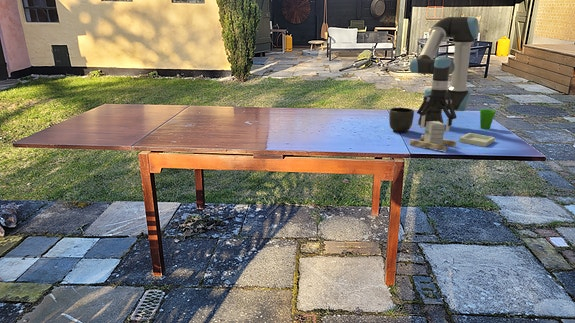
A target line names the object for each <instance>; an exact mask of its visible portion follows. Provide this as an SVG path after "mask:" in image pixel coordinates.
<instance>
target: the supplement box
mask: <svg viewBox="0 0 575 323" xmlns="http://www.w3.org/2000/svg"><path fill="white" fill-rule="evenodd" d="M445 129H446V124H445V123H444V122H443V123H441V122H439V121H428V122H426V126H425V129H424V135H425V137H424V141H423V142H428V143H433V144H438V145H442V144H443V139H444V136H445Z"/></svg>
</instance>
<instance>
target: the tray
mask: <svg viewBox="0 0 575 323" xmlns="http://www.w3.org/2000/svg"><path fill="white" fill-rule="evenodd" d="M495 140H496V137H494V136H489V135H483V134H479V133H472V132H468V133H466V134H464V135H462V136H460V137H459V139H458V143H462V144H468V145H472V144H473V145H472V146H477V145H478V146H479V147H483V148H486V147H487V146H488V147H489V145H491V144H493V143H494V142H495Z"/></svg>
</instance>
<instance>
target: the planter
mask: <svg viewBox="0 0 575 323" xmlns="http://www.w3.org/2000/svg"><path fill="white" fill-rule="evenodd" d="M414 115H415V110H414V109H413V108H410V107H391V108H390V109H389V115H388V116H389V118H388V122H389V127H390V129H392V132H394V133H398V134H399V133H401V134H403V133H404V134H405V133H407V132H408V131H409V130H410V129H411V128H412V125H413V120H414Z"/></svg>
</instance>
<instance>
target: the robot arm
mask: <svg viewBox="0 0 575 323" xmlns="http://www.w3.org/2000/svg"><path fill="white" fill-rule="evenodd" d="M479 28H480V25H479V20H478V18H477V17H475V16H447V17H444V18H442V19H440V20H439V21H437V22H436V23H435V24H433V25H432V27H431V28H430V31H429V32H428V38H427V40H426V42H425V44H424V46H423V48H422V50H421V51H420V54H419V55H418V57H417V58H412V59H411V60H410V64H409V71H410V72H411V73H412V74H413V73H414V74H419V75H420V74H423V75H424V74H425V75H432V81H431V87H428V88H426V89H425V90H424V92H423V101H422V103H421V105H420V106H419V108H418V110H417V112H416V114H417V115H419V118H418V119H417V120H418V121H417V122H418V124H417V125H419V126H420V128H421V129H423V128H424V127H426V122H428V121H439V122H441V123H443V124H444V117H443V114H442V112H443V113H444V114H445V115H446V117H447V119H446V124H445V130H444V133H448V132H450V128H451V126H452V125H453V120H455V119H457V115H456V112H465V111H466V110H467V108H468V107H469V106H468V105H469V104H470V99H471V96H472V95H471V94H472V93H471V92H470V91H469V88H468V87H467V81H468V73H469V65H470V56H471V47H472V44H474V43H475V41H476V39H478V38H479V32H480V29H479ZM445 39H452V43H453V44H454V52H453V60H451V58H450V57H447V56H446V57H445V56H439V57H438V56H437V57H436V58H435V59H434V57H435V56H436V54H437V52H438V50H439V48H440V45H441V44H442V42H444V41H445ZM450 75H451V79H450V80H451V81H450V86H448V85H449V76H450Z"/></svg>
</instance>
